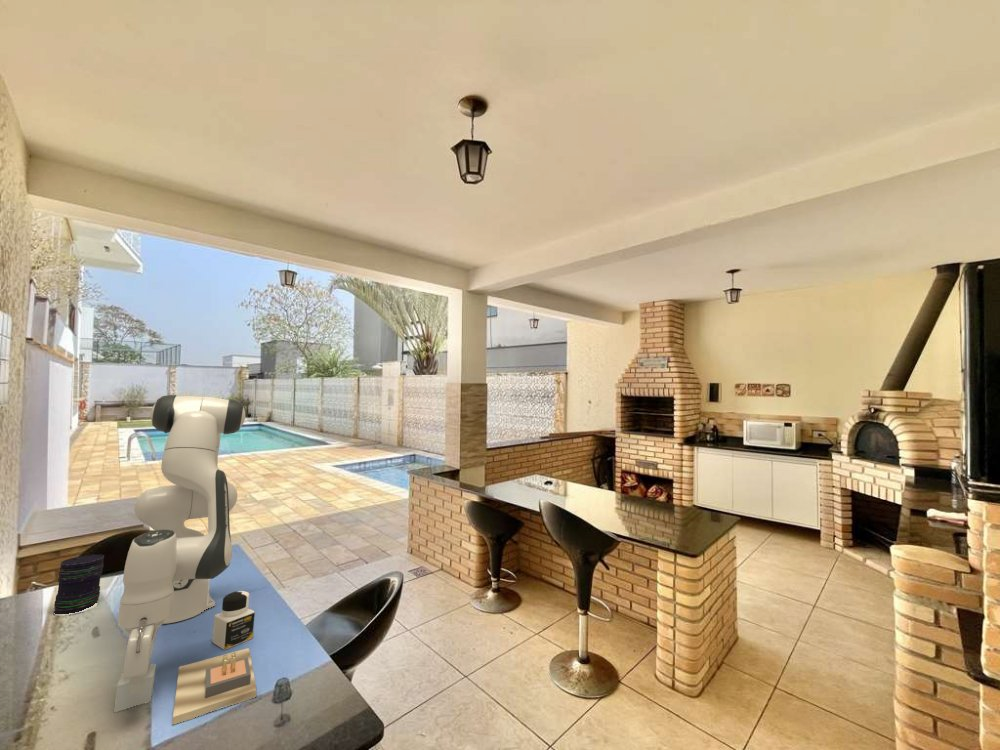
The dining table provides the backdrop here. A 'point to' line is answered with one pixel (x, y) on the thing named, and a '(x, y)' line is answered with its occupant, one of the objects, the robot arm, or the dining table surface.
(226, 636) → the medicine bottle
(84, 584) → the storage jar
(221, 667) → the board
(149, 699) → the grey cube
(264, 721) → the dining table surface
